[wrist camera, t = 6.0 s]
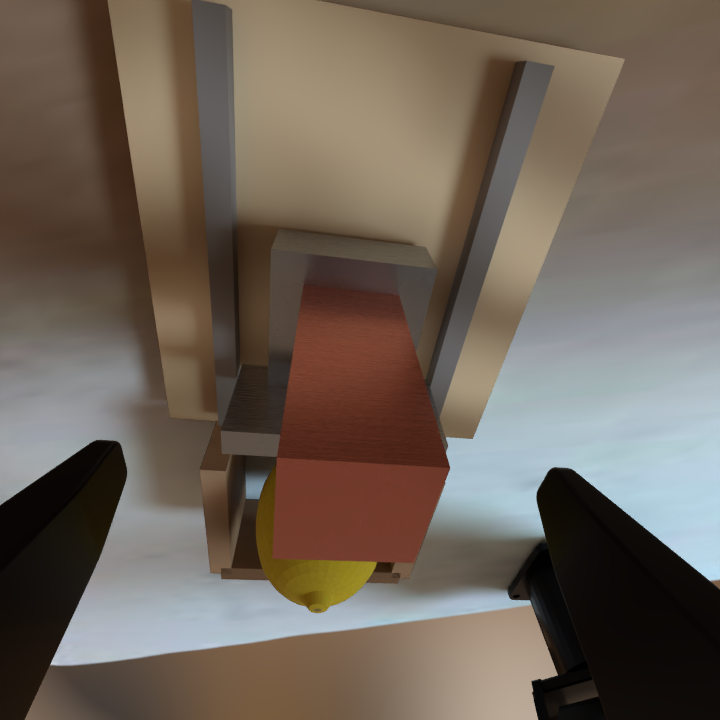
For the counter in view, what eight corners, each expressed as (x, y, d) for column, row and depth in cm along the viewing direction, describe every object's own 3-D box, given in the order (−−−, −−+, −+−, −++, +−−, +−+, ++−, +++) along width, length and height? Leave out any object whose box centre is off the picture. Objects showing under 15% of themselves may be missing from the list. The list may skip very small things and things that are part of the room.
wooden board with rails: (466, 421, 21) (477, 451, 19) (178, 400, 19) (163, 430, 18) (602, 60, 13) (642, 58, 11) (122, -31, 11) (84, -50, 9)
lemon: (247, 452, 22) (209, 618, 15) (316, 388, 19) (307, 548, 13) (328, 495, 24) (326, 656, 17) (398, 443, 22) (426, 603, 15)
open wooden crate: (397, 517, 25) (406, 583, 22) (228, 509, 24) (211, 578, 21) (427, 419, 21) (445, 483, 18) (222, 403, 20) (199, 470, 16)
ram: (418, 386, 18) (479, 610, 10) (246, 372, 17) (176, 605, 9) (456, 251, 14) (585, 435, 7) (244, 224, 14) (134, 402, 6)
